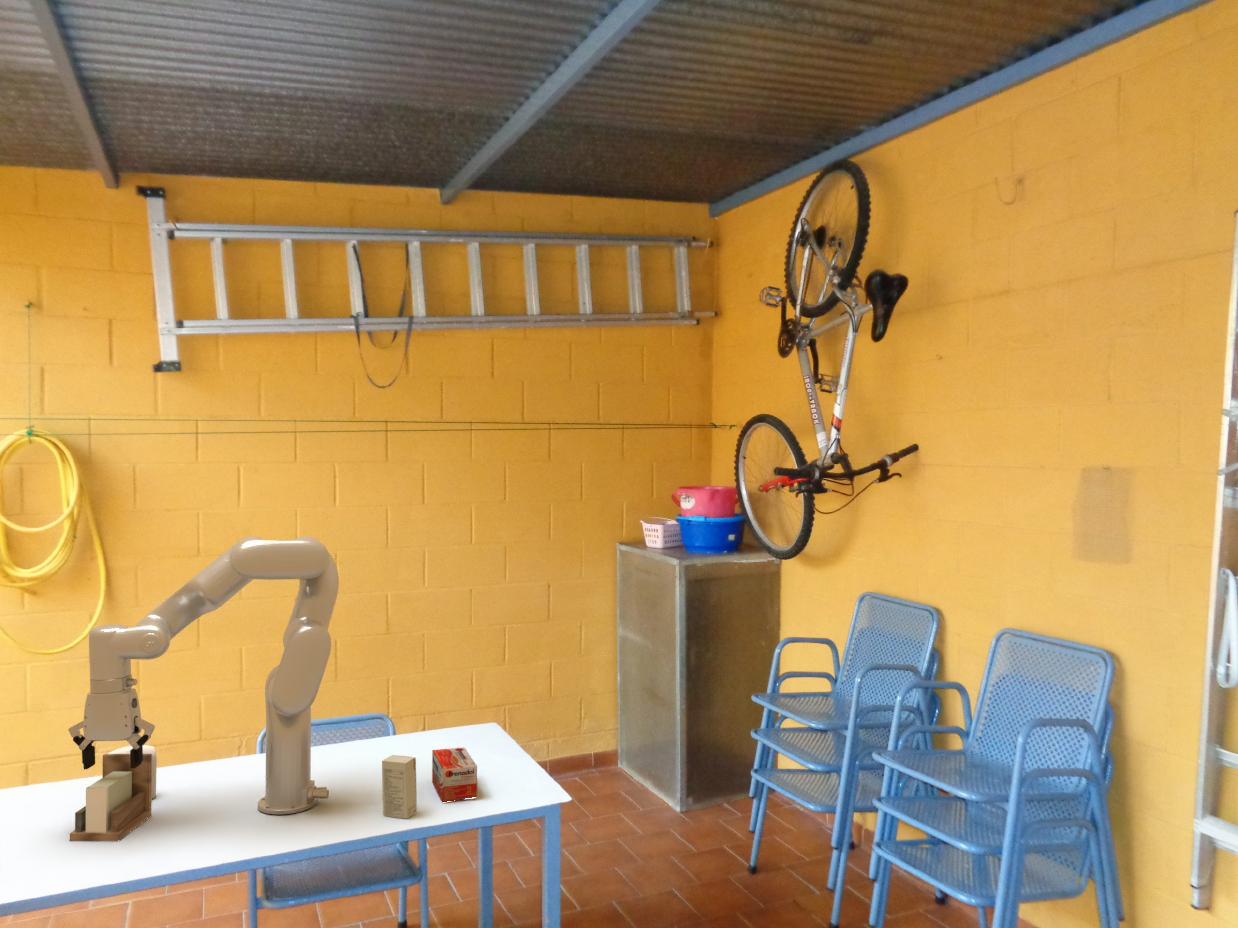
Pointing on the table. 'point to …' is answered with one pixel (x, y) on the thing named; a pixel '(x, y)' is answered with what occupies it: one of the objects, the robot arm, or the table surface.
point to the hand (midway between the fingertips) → (112, 766)
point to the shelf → (130, 811)
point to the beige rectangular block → (106, 800)
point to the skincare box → (399, 786)
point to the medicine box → (454, 774)
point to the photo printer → (146, 750)
